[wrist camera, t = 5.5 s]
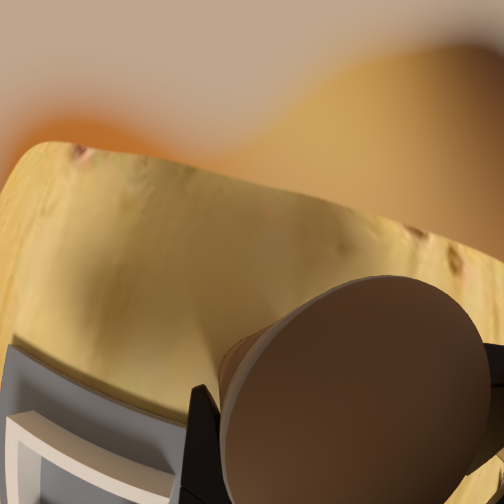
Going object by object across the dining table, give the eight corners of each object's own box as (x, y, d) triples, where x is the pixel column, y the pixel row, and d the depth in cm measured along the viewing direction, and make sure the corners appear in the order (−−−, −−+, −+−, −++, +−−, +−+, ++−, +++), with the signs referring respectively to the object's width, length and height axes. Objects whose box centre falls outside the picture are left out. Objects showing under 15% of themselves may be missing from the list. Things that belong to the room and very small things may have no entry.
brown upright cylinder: (298, 429, 14) (445, 531, 2) (206, 411, 13) (186, 550, 2) (319, 344, 15) (502, 306, 4) (231, 322, 15) (275, 232, 4)
